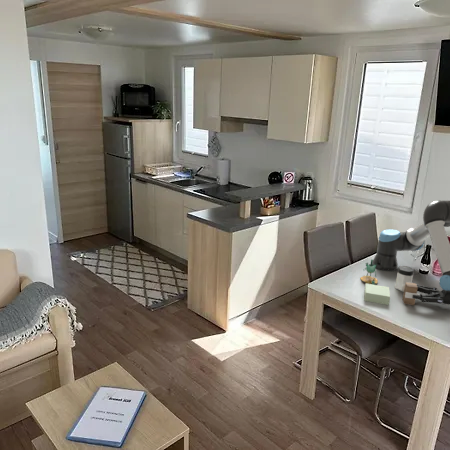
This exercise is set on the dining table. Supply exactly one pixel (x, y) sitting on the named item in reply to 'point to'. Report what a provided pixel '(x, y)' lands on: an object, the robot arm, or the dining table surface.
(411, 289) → the walnut block
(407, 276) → the jar
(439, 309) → the dining table surface
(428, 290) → the robot arm
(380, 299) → the sage block
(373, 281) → the green insect figurine
